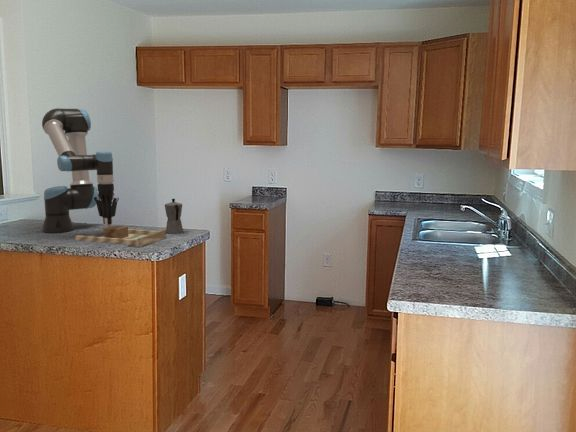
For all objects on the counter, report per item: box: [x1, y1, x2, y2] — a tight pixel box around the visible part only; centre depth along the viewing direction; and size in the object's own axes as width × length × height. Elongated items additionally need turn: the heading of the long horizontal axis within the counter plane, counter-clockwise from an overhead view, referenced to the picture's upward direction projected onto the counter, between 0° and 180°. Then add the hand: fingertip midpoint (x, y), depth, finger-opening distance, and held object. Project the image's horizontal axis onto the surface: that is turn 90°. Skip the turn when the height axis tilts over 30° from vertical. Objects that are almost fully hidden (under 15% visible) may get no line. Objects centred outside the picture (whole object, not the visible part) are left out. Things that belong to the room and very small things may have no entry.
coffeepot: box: [164, 198, 184, 235], centre depth 279 cm, size 15×9×18 cm, turn 25°
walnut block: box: [103, 225, 129, 239], centre depth 262 cm, size 8×8×5 cm
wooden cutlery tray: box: [74, 227, 167, 248], centre depth 262 cm, size 36×23×4 cm, turn 73°
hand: (108, 230), depth 263 cm, fingers closed
